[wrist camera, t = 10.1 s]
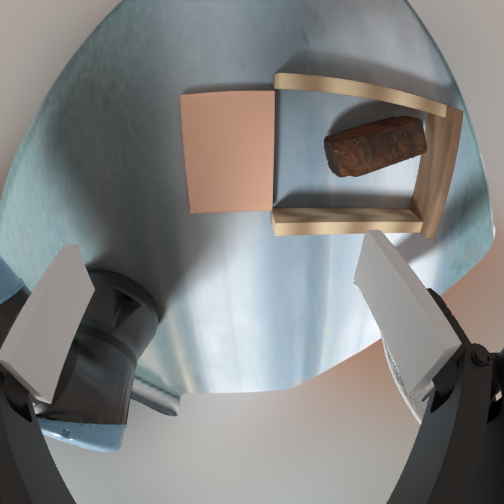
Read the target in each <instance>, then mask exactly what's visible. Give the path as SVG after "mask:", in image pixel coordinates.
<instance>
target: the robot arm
mask: <svg viewBox="0 0 504 504" xmlns="http://www.w3.org/2000/svg"><path fill="white" fill-rule="evenodd" d="M354 279H355V281H356V283H357V285H358V287H359V289H360V291H361V293H362V295H363V296H364V298H365V300H366V302H367V304H368V306H369V308H370V310H371V312H372V314H373V316H374V318H375V320H376V322H377V324H378V326H379V329H380V331H381V333H382V335H383V337H384V339H385V341H386V343H387V346H388V348H389V350H390V352H391V354H392V357H393V359H394V361H395V363H396V366H397V368H398V370H399V373H400V375H401V377H402V380H403V382H404V385H405V387H406V389H407V392H408V394H410V393H413V392H416V391H418V390H421V389H424V388H425V387H426V386H427V385H428V384H429V382H430V381H431V380H432V381H433V384H434V386H433V387H432V388H431V390H430V391H429V392H428V393H427V394H426V395H425V396H424V397H423V399H422V400H421V401H423V402H424V401H425V400H426V399H427V398H428V397H429V399H428V402H427V407H426V410H425V413H424V417H423V420H422V423H421V426H420V429H419V432H418V435H417V437H416V440H415V443H414V445H413V448H412V451H411V453H410V456H409V458H408V460H407V463H406V465H405V467H404V470H403V472H402V474H401V476H400V478H399V480H398V482H397V484H396V487H395V488H394V490H393V492H392V494H391V496H390V498H389V500H388V502H387V504H504V349H503V350H502V351H501V352H500V353H489V352H488V351H487V349H486V348H485V347H483V346H482V345H480V344H476V343H474V344H471V343H470V341H469V339H468V338H467V336H466V335H465V333H464V331H463V330H462V328H461V327H460V325H459V323H458V322H457V320H456V319H455V317H454V316H453V315H451V314H452V313H451V311H450V310H449V308H448V307H446V306H447V305H446V304H445V302H444V301H443V300H442V298H441V297H440V296H439V295H438V294H437V293H436V292H435V291H433V290H432V289H431V288H428V289H426V288H425V286H424V285H423V284H422V282H421V281H420V279H419V278H418V277H417V275H416V274H415V273H414V271H413V270H412V269H411V267H410V266H409V265H408V263H407V262H406V261H405V260H404V258H403V257H402V256H401V254H400V253H399V252H398V251H397V249H396V248H395V247H394V246H393V245H392V243H391V242H390V241H389V240H388V238H387V237H386V236H385V235H384V234H383V233H382V231H381V230H366V232H365V237H364V241H363V245H362V249H361V253H360V257H359V261H358V264H357V268H356V272H355V276H354ZM158 320H159V315H158V310H157V307H156V305H155V303H154V302H153V300H152V299H151V297H150V296H149V295H148V294H147V293H146V292H145V291H144V290H143V289H142V288H141V287H140V286H138V285H137V284H136V283H134V282H132V281H131V280H129V279H127V278H125V277H123V276H121V275H118V274H115V273H111V272H107V271H90V272H87V270H86V267H85V265H84V262H83V260H82V257H81V255H80V252H79V249H78V247H77V244H76V245H65V246H64V247H63V248H62V250H61V251H60V252H59V254H58V255H57V256H56V258H55V259H54V261H53V262H52V263H51V265H50V266H49V268H48V269H47V270H46V272H45V273H44V275H43V276H42V278H41V279H40V281H39V282H38V284H37V285H36V287H35V288H34V290H33V292H32V293H31V291H30V290H29V289H28V288H27V287H26V286H25V283H24V281H23V280H22V279H21V278H18V276H17V275H16V274H15V273H14V272H13V270H12V269H11V268H10V267H9V266H8V264H7V263H6V262H5V261H4V260H3V259H2V258H1V257H0V504H76V502H75V501H74V499H73V497H72V495H71V494H70V492H69V490H68V488H67V487H66V485H65V483H64V481H63V479H62V477H61V475H60V473H59V471H58V469H57V467H56V465H55V462H54V460H53V458H52V456H51V454H50V451H49V449H48V446H47V444H46V441H45V439H44V436H43V434H45V435H47V436H49V437H52V438H55V439H57V440H60V441H63V442H66V443H69V444H72V445H75V446H79V447H82V448H87V449H91V450H95V451H101V452H115V451H117V450H118V449H119V448H120V446H121V445H122V440H123V435H124V430H125V428H126V427H127V417H128V410H129V404H130V397H131V391H132V386H133V380H134V375H135V369H136V365H137V361H138V359H139V357H140V356H141V355H142V353H143V352H144V350H145V349H146V347H147V346H148V344H149V343H150V341H151V340H152V339H153V337H154V335H155V333H156V329H157V325H158ZM500 391H501V393H502V397H501V398H500V399H499V400H498V401H497V400H496V397H495V395H496V394H498V393H499V392H500Z"/></svg>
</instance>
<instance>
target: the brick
mask: <svg viewBox="0 0 504 504" xmlns="http://www.w3.org/2000/svg"><path fill="white" fill-rule="evenodd" d="M324 148H325V153H326V157H327V161H328V165H329V168H330V169H331V171H332V172H333V173H334V174H336V175H337V176H338V177H345V176H353V177H358V176H362V175H365V174H368V173H370V172H373V171H376V170H379V169H381V168H384V167H387V166H390V165H393V164H396V163H398V162H401V161H404V160H407V159H409V158H414V157H415V156H418V155H421V154H424V153H426V152H427V150H428V148H427V143H426V139H425V134H424V129H423V124H422V121H421V120H420V119H419V118H413V117H409V116H399V117H392V118H389V119H384V120H379V121H375V122H372V123H368V124H365V125H361V126H358V127H355V128H351V129H348V130H345V131H341V132H338V133H335V134H332V135H329V136H326V137H325V139H324Z"/></svg>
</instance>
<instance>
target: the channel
mask: <svg viewBox="0 0 504 504" xmlns="http://www.w3.org/2000/svg"><path fill="white" fill-rule="evenodd" d="M273 88H274V89H294V90H308V91H319V92H329V93H337V94H344V95H351V96H358V97H364V98H369V99H375V100H380V101H385V102H389V103H394V104H398V105H402V106H406V107H410V108H414V109H418V110H421V111H425V112H427V121H426V129H425V139H426V143H427V148H428V150H427V152H426V153H424V154H422V155H421V160H420V165H419V170H418V175H417V180H416V185H415V189H414V193H413V198H412V202H411V206H410V209H381V208H272V210H271V223H272V227H273V231H274V235H275V236H283V235H316V234H356V233H365V232H366V230H381V231H382V233H417V232H420V233H421V234H422V235H423V236H424V237H425V238H426V239H434V237H435V234H436V231H437V228H438V225H439V222H440V219H441V216H442V213H443V209H444V206H445V202H446V199H447V195H448V191H449V188H450V184H451V180H452V175H453V171H454V166H455V162H456V157H457V152H458V146H459V140H460V134H461V127H462V119H463V111H462V110H459V109H457V108H454V107H450V106H447V105H444V104H441V103H438V102H435V101H432V100H429V99H426V98H423V97H420V96H416V95H413V94H409V93H406V92H402V91H398V90H394V89H390V88H386V87H382V86H377V85H372V84H368V83H362V82H357V81H351V80H345V79H338V78H331V77H323V76H314V75H304V74H290V73H277V74H274V75H273Z"/></svg>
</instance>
